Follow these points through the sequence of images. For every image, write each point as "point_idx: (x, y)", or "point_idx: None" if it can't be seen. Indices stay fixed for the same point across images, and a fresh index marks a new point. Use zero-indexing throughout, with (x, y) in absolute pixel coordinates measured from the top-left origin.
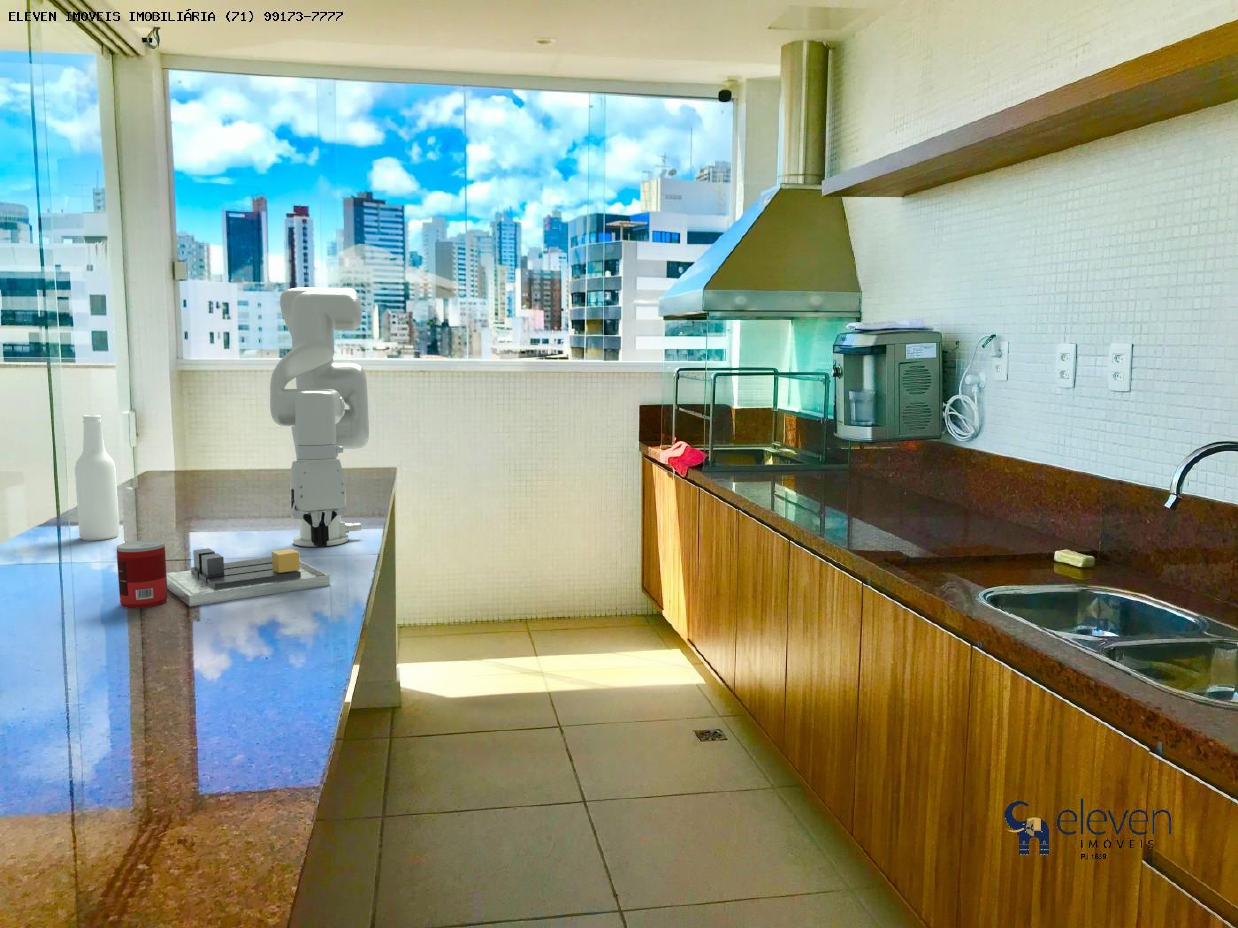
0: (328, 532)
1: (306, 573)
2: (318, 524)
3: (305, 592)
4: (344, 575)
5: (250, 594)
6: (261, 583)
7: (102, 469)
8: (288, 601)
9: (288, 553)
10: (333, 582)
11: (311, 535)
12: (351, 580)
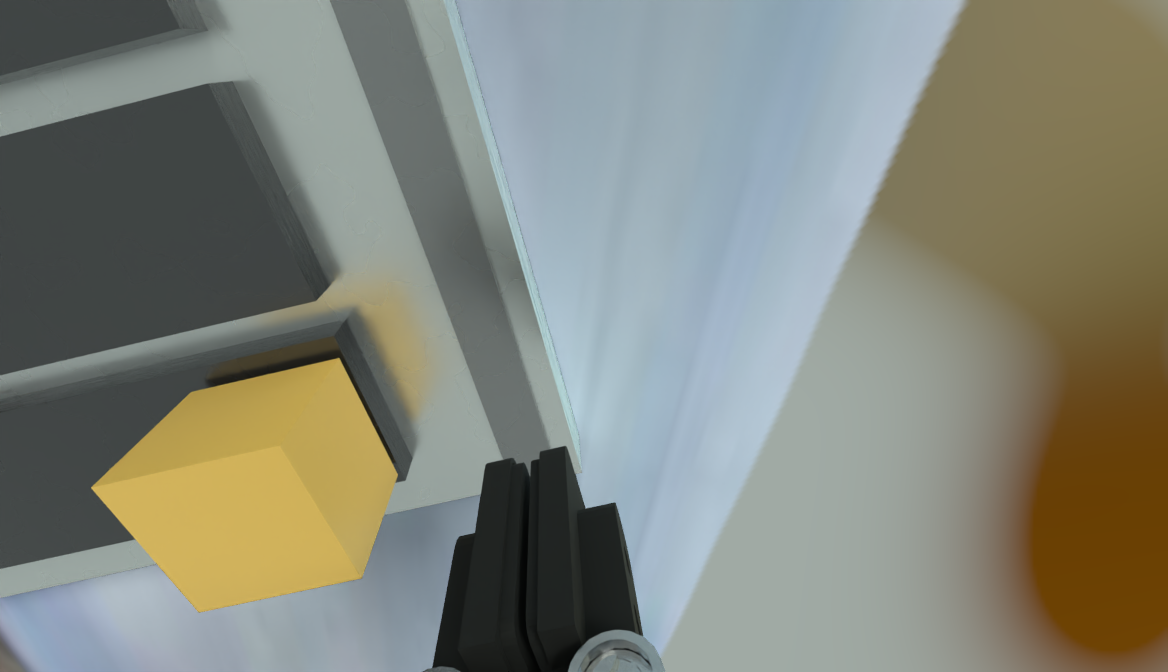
0: (641, 631)
1: (447, 389)
2: None
3: (447, 518)
4: (707, 234)
5: None
6: None
7: None
8: (375, 618)
9: (276, 594)
10: (606, 383)
11: (452, 588)
12: (708, 375)
